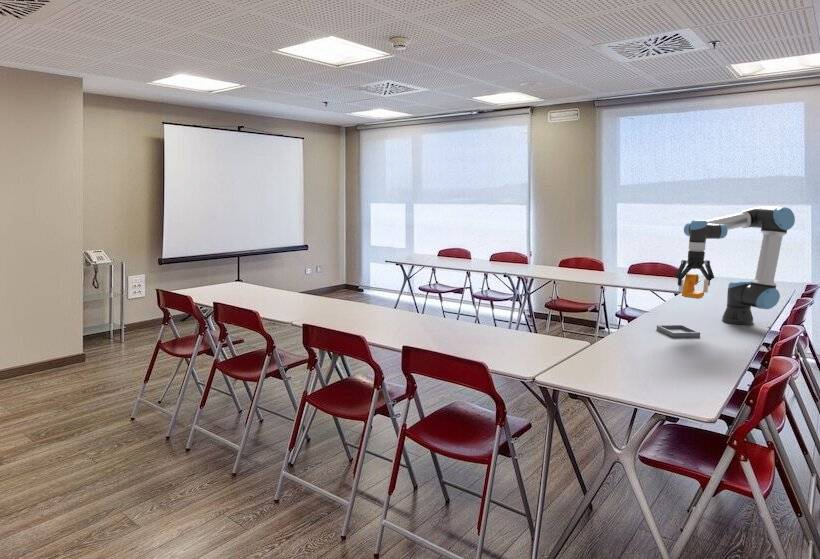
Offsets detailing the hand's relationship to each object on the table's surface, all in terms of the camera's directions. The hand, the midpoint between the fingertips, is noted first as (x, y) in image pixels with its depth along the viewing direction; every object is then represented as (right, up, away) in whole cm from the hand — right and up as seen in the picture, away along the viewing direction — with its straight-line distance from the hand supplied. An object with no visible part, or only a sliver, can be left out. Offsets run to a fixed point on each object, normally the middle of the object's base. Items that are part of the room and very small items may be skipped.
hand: (692, 292), depth 291 cm
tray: (-7, -21, +2) cm, 23 cm away
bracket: (0, -3, 0) cm, 3 cm away
